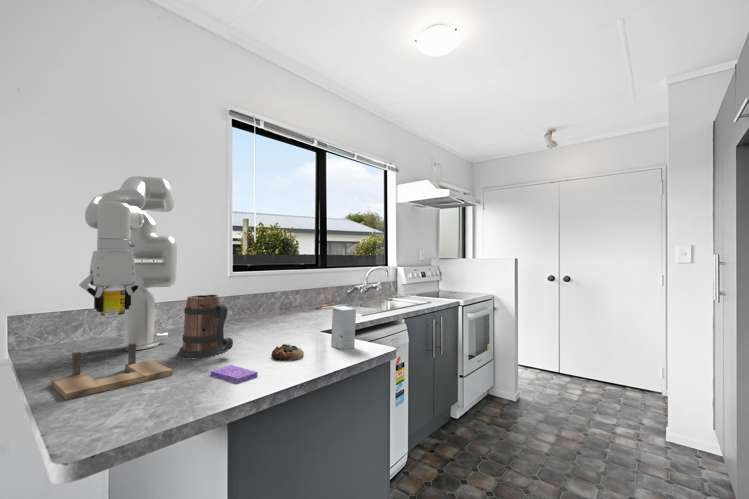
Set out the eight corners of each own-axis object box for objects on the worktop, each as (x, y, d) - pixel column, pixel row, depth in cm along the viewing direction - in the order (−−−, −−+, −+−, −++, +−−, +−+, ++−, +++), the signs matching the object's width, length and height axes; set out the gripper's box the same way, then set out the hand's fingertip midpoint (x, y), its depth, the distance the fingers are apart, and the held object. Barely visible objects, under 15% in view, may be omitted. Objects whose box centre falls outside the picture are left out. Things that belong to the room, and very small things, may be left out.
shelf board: (149, 363, 117) (150, 340, 117) (172, 374, 106) (172, 348, 106) (50, 384, 98) (50, 355, 98) (65, 399, 88) (66, 368, 88)
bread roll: (263, 359, 123) (265, 343, 123) (283, 355, 133) (285, 341, 133) (291, 364, 118) (293, 348, 119) (310, 360, 129) (311, 345, 129)
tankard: (165, 354, 129) (166, 296, 129) (209, 344, 143) (209, 292, 143) (207, 364, 116) (207, 301, 117) (250, 352, 131) (250, 296, 131)
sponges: (237, 385, 99) (237, 378, 99) (209, 376, 106) (209, 370, 106) (258, 378, 105) (258, 371, 105) (231, 370, 112) (231, 364, 112)
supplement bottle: (123, 317, 102) (123, 280, 102) (98, 319, 100) (99, 281, 100) (126, 314, 107) (126, 279, 107) (103, 316, 105) (103, 280, 105)
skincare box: (330, 345, 141) (331, 306, 141) (344, 343, 144) (344, 305, 145) (342, 350, 134) (342, 309, 134) (356, 348, 138) (356, 308, 138)
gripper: (142, 246, 113) (142, 305, 113) (71, 245, 100) (70, 312, 99) (152, 246, 108) (151, 308, 108) (79, 245, 95) (78, 315, 95)
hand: (112, 309), depth 104 cm, fingers closed on supplement bottle, 5 cm apart
